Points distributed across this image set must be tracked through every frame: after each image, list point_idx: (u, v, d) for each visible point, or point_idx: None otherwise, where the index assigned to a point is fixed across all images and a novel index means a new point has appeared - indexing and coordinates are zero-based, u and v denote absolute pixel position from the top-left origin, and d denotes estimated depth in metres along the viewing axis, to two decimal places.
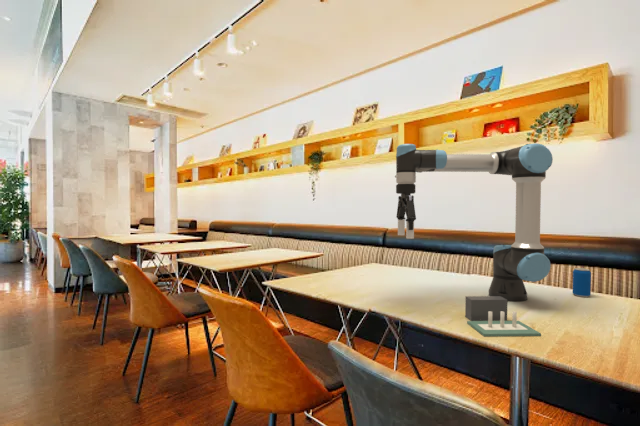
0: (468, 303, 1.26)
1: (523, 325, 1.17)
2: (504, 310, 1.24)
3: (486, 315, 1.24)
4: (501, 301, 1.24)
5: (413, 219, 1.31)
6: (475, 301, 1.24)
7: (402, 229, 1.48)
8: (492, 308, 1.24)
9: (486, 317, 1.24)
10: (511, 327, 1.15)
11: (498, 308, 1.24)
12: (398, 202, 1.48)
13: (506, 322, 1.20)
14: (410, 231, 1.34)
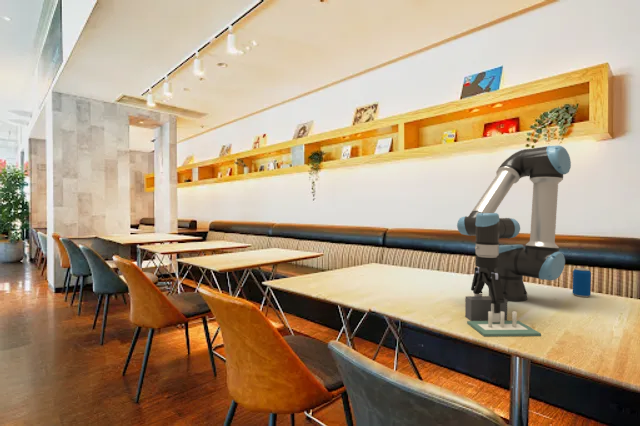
0: (468, 303, 1.26)
1: (523, 325, 1.17)
2: (504, 310, 1.24)
3: (486, 315, 1.24)
4: None
5: (501, 302, 1.17)
6: (475, 301, 1.24)
7: None
8: None
9: (486, 317, 1.24)
10: (511, 327, 1.15)
11: None
12: (474, 274, 1.33)
13: (506, 322, 1.20)
14: (496, 314, 1.20)
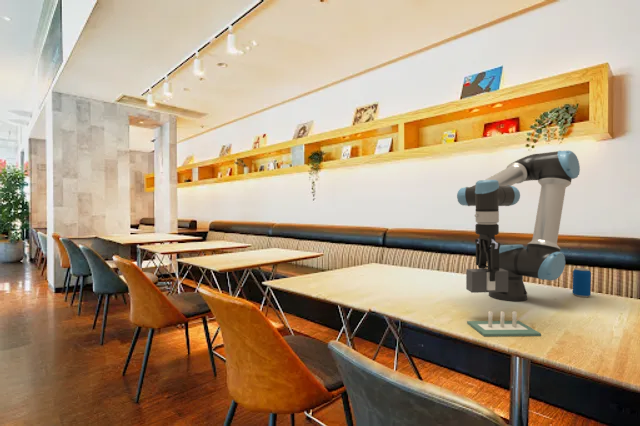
0: (469, 275, 1.26)
1: (523, 325, 1.17)
2: (505, 281, 1.24)
3: None
4: (502, 273, 1.24)
5: (496, 270, 1.21)
6: (476, 273, 1.24)
7: None
8: None
9: None
10: (511, 327, 1.15)
11: (499, 280, 1.24)
12: (476, 246, 1.32)
13: (506, 322, 1.20)
14: (491, 282, 1.24)
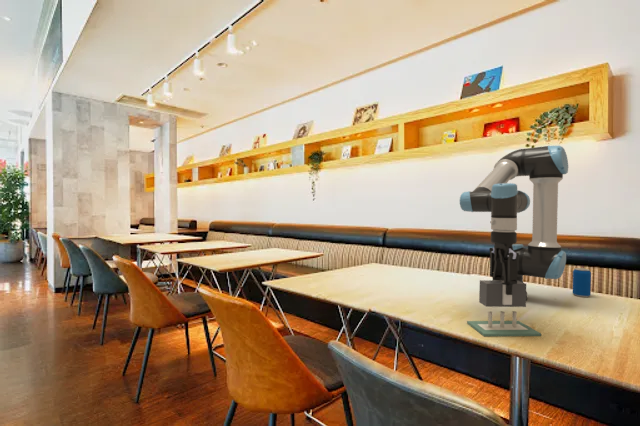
0: (483, 287, 1.15)
1: (523, 325, 1.17)
2: (523, 295, 1.13)
3: None
4: (519, 285, 1.13)
5: (514, 283, 1.09)
6: (491, 285, 1.13)
7: None
8: None
9: None
10: (511, 327, 1.15)
11: (516, 293, 1.13)
12: (490, 255, 1.21)
13: (506, 322, 1.20)
14: (508, 296, 1.12)
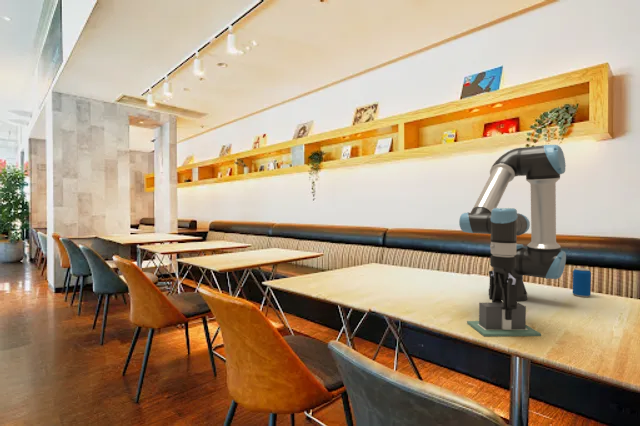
0: (482, 310, 1.15)
1: None
2: (522, 318, 1.13)
3: None
4: (519, 308, 1.13)
5: None
6: (490, 308, 1.13)
7: None
8: None
9: None
10: None
11: (515, 316, 1.13)
12: (490, 278, 1.21)
13: None
14: (507, 321, 1.13)
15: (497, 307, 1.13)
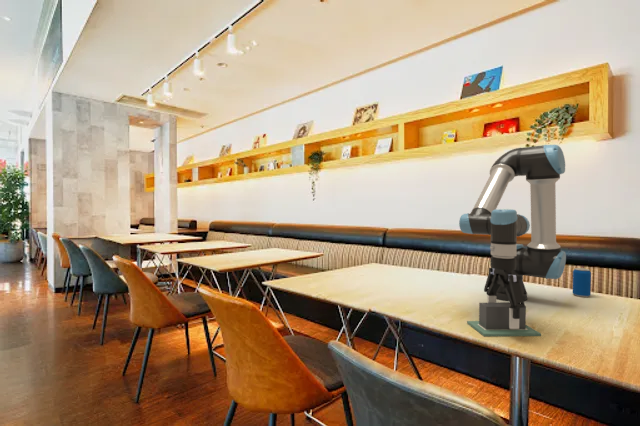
0: (482, 310, 1.15)
1: None
2: (522, 318, 1.13)
3: (502, 323, 1.13)
4: None
5: (521, 307, 1.06)
6: (490, 308, 1.13)
7: None
8: None
9: (502, 326, 1.13)
10: None
11: None
12: (488, 275, 1.22)
13: None
14: (515, 320, 1.09)
15: (497, 307, 1.13)
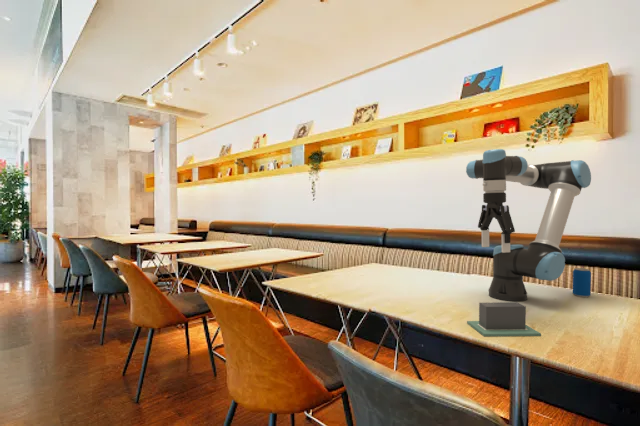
0: (482, 310, 1.15)
1: None
2: (522, 318, 1.13)
3: (502, 323, 1.13)
4: (519, 308, 1.13)
5: (512, 232, 1.21)
6: (490, 308, 1.13)
7: (487, 240, 1.37)
8: (509, 316, 1.13)
9: (502, 326, 1.13)
10: None
11: (515, 316, 1.13)
12: (482, 211, 1.37)
13: None
14: (506, 244, 1.24)
15: (497, 307, 1.13)
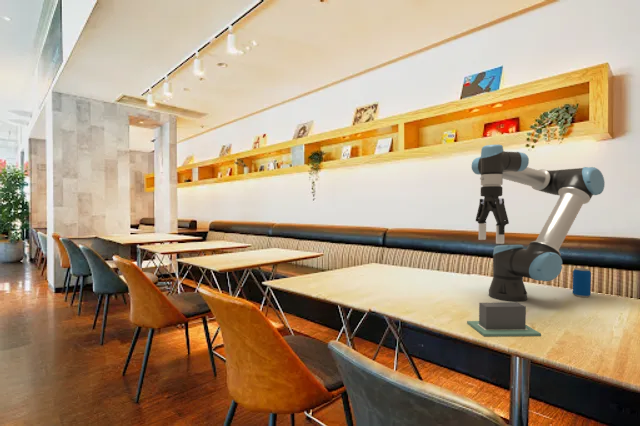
0: (482, 310, 1.15)
1: None
2: (522, 318, 1.13)
3: (502, 323, 1.13)
4: (519, 308, 1.13)
5: (506, 223, 1.25)
6: (490, 308, 1.13)
7: (483, 233, 1.42)
8: (509, 316, 1.13)
9: (502, 326, 1.13)
10: None
11: (515, 316, 1.13)
12: (479, 205, 1.42)
13: None
14: (500, 236, 1.28)
15: (497, 307, 1.13)
